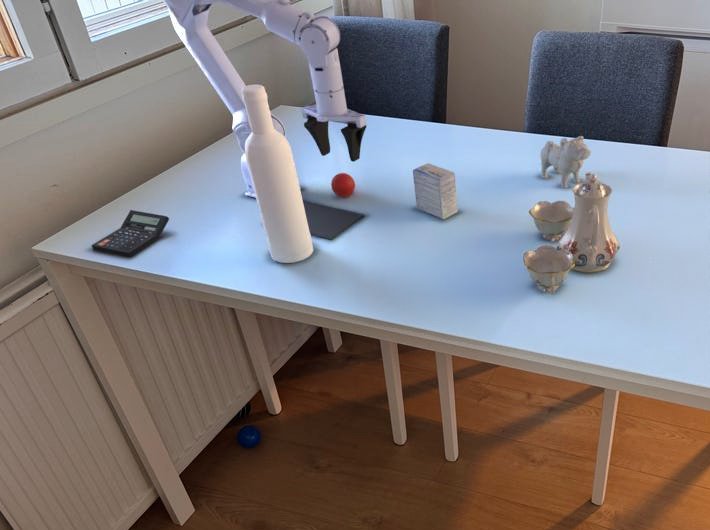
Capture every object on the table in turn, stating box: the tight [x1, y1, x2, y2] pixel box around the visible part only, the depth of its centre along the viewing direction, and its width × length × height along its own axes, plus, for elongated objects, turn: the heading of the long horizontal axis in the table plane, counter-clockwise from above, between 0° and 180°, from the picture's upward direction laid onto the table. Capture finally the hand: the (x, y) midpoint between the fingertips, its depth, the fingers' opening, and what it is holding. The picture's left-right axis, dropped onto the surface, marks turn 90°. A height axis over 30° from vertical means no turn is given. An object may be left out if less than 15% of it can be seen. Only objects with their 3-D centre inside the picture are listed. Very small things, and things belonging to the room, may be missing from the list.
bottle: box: [242, 84, 314, 264], centre depth 115 cm, size 8×8×30 cm
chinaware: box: [523, 172, 621, 296], centre depth 114 cm, size 28×17×17 cm, turn 178°
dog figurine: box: [539, 135, 592, 189], centre depth 142 cm, size 5×13×11 cm, turn 38°
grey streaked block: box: [412, 162, 459, 220], centre depth 133 cm, size 8×4×9 cm, turn 47°
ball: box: [330, 172, 356, 198], centre depth 142 cm, size 5×5×5 cm
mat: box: [302, 199, 365, 241], centre depth 135 cm, size 16×11×1 cm
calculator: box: [91, 209, 170, 258], centre depth 131 cm, size 9×12×3 cm
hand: (340, 156), depth 137 cm, fingers open, 7 cm apart
